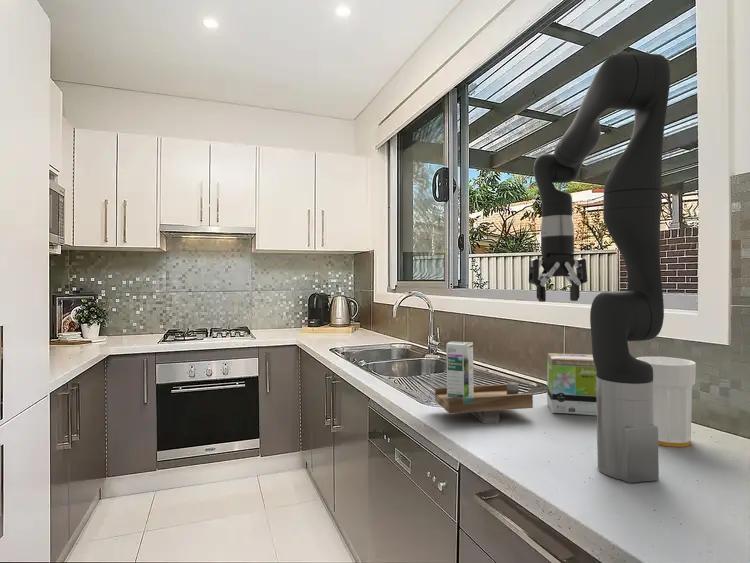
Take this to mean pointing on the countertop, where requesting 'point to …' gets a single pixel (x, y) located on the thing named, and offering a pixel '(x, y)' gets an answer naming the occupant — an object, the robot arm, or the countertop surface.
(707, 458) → the countertop surface
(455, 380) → the syrup box
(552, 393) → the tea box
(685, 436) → the cup
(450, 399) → the beam
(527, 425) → the countertop surface
